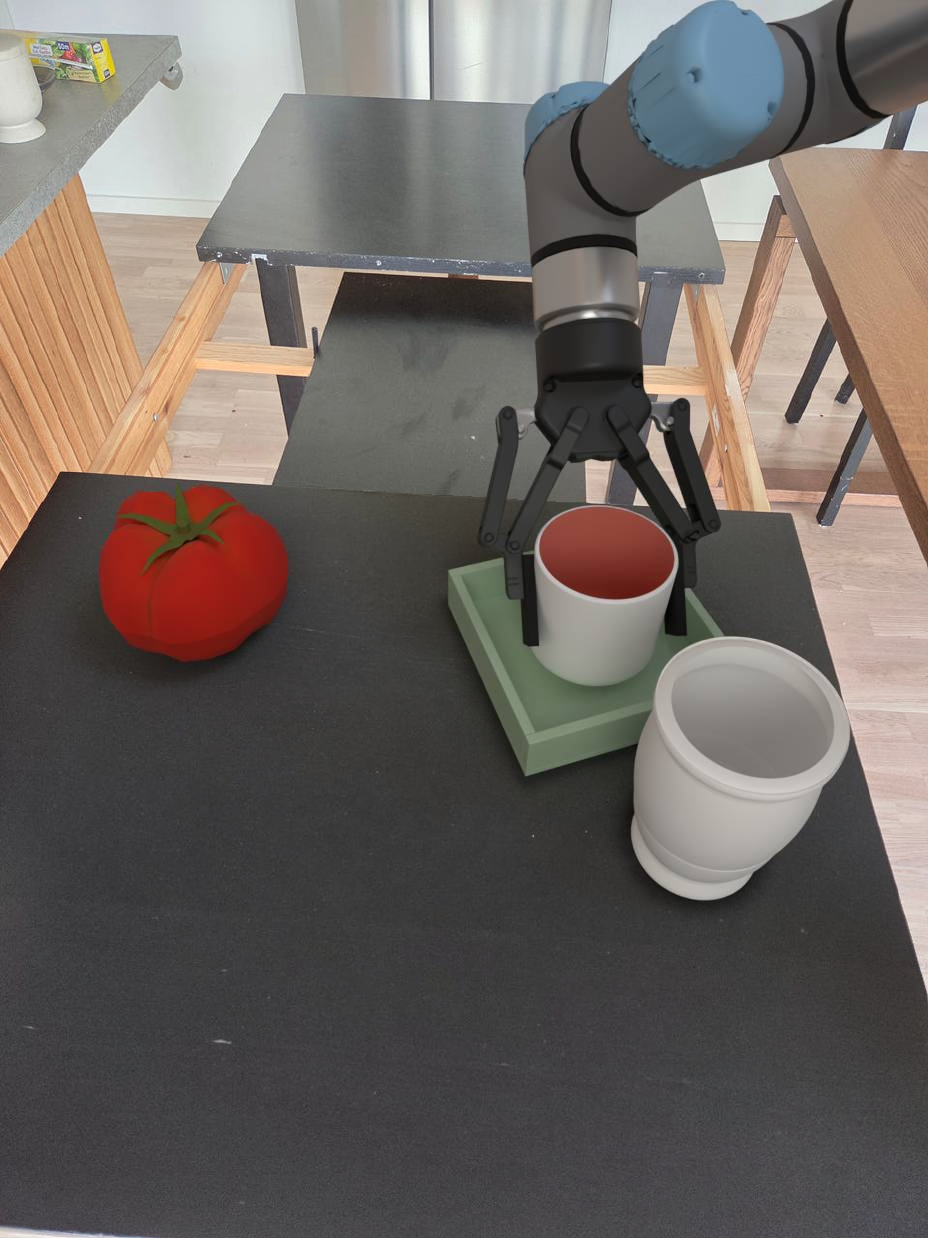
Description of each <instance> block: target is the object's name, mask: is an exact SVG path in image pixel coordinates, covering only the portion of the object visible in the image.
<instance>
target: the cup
mask: <svg viewBox="0 0 928 1238" xmlns="http://www.w3.org/2000/svg"><path fill="white" fill-rule="evenodd" d="M533 550H534V566H535V580H536V597H537V615H538V632H539V646H533V647H531V650H532V652H533V654H534V655H535V657H536V658H537V659H538V660H539V662H540V663H541V664H542V665H543V666H544V667H545V668H546V669H548V670H549V671H550V672H551V673H553V674H555V675H556V676H558V677H560V678H562V679H564V680H567V681H569V682H572V683H576V684H580V685H585V686H608V685H614V684H617V683H621V682H623V681H626V680H628V679H630V678H632V677H633V676H635V675H636V674H638V673H639V672H640V671H641V670H642V669H643V668H644V667H645V666H646V665H647V664H648V662H649V661H650V659H651V657H652V656H653V653H654V650H655V647H656V644H657V640H658V636H659V633H660V629H661V626H662V622H663V619H664V615H665V612H666V608H667V605H668V601H669V598H670V594H671V590H672V587H673V583H674V580H675V576H676V573H677V569H678V553H677V550H676V547H675V545H674V543H673V541H672V540H671V538H670V537H669V535H668V534H667V533H666V532H665V530H664V529H663V527H662V526H661V525H660V524H658V523H656V522H655V521H654V520H652V519H651V518H649V517H647V516H645V515H643V514H641V513H638V512H636V511H634V510H631V509H628V508H624V507H619V506H614V505H607V504H605V505H604V504H590V505H582V506H577V507H573V508H570V509H569V508H568V509H567V510H564V511H561V512H560V513H558V514H555V515H554V516H553V517H551V518H550V519H549V520H548V521H547V522H545V524H544V525H543V526H542V527H541V529H540V530H539V531H538V533H537V536H536V538H535V542H534V549H533Z"/></svg>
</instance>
